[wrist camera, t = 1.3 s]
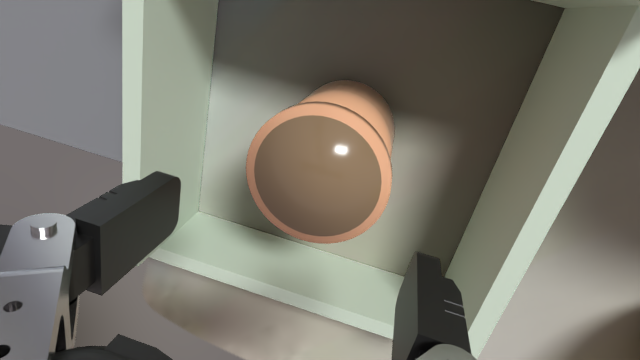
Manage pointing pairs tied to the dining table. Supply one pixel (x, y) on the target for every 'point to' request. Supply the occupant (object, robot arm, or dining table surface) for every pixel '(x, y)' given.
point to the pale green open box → (338, 272)
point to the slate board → (63, 72)
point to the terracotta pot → (325, 163)
